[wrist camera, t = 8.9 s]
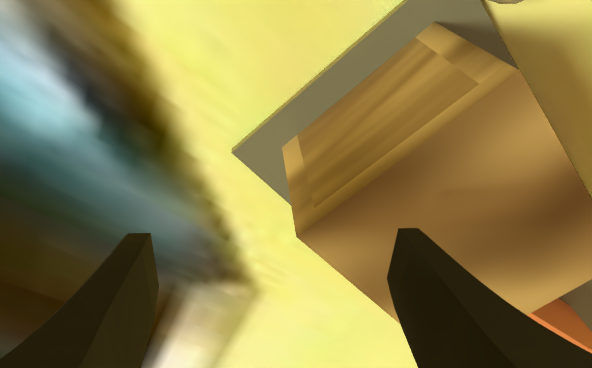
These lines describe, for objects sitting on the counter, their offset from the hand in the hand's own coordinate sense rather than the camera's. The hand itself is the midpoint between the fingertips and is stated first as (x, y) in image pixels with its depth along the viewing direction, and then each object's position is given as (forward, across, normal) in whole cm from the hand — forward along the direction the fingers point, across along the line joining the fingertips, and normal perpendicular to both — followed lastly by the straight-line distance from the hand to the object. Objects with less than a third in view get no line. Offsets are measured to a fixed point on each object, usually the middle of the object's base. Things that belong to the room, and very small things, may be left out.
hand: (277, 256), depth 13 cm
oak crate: (+10, -8, +2) cm, 13 cm away
